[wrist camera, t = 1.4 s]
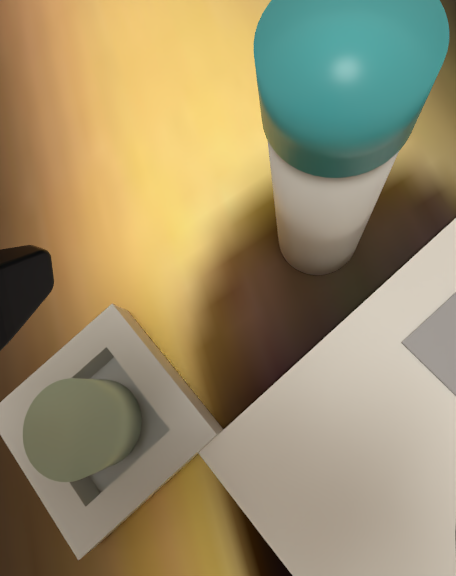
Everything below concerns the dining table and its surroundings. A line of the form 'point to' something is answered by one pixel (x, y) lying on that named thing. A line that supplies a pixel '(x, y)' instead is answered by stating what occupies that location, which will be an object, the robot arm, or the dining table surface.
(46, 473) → the button
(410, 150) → the dining table surface
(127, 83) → the dining table surface
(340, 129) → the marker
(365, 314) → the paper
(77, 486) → the button housing
